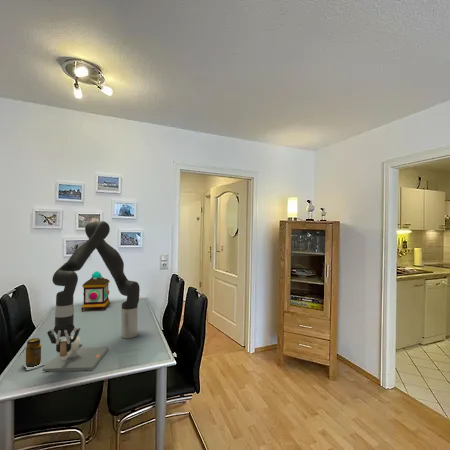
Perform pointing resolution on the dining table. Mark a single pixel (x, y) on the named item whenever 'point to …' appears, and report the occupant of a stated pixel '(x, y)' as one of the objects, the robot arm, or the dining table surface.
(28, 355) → the condiment
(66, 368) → the board
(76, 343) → the cream maraca
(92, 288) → the decorative lantern
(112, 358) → the dining table surface
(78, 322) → the dining table surface
